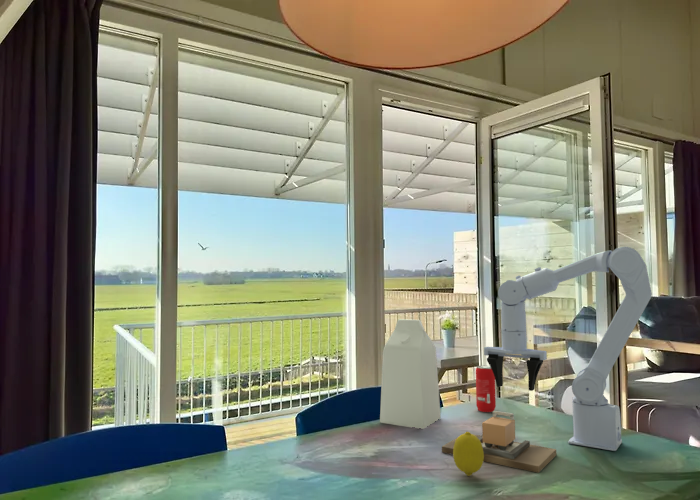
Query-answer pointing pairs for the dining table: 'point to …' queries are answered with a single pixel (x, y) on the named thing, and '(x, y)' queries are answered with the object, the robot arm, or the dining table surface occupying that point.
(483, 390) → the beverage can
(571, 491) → the dining table surface
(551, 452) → the dock
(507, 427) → the toy cart
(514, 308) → the robot arm
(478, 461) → the lemon
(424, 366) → the milk
